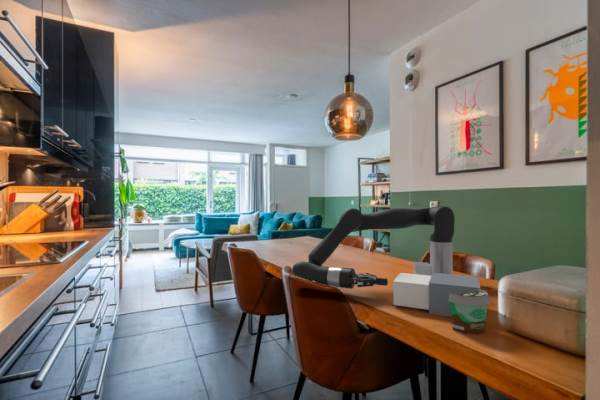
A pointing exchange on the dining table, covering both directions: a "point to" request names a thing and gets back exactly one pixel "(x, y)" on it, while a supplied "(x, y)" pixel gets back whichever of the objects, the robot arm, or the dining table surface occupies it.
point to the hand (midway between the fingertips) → (387, 282)
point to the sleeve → (448, 290)
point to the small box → (422, 268)
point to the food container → (469, 312)
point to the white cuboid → (411, 290)
